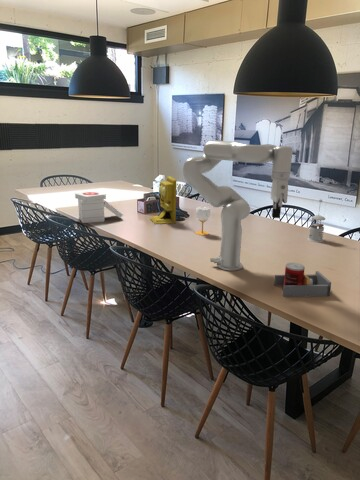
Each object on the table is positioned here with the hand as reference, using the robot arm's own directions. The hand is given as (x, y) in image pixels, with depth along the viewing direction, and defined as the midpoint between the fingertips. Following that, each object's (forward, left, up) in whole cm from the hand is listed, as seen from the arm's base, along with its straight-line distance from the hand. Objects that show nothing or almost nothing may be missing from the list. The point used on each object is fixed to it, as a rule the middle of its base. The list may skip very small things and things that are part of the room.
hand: (275, 217), depth 173 cm
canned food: (+5, -16, -28) cm, 33 cm away
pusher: (+11, -16, -28) cm, 34 cm away
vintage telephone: (-45, +103, -28) cm, 116 cm away
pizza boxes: (-89, +107, -28) cm, 142 cm away
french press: (+47, +57, -28) cm, 79 cm away
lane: (+9, -16, -28) cm, 33 cm away
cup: (-21, +71, -28) cm, 79 cm away
